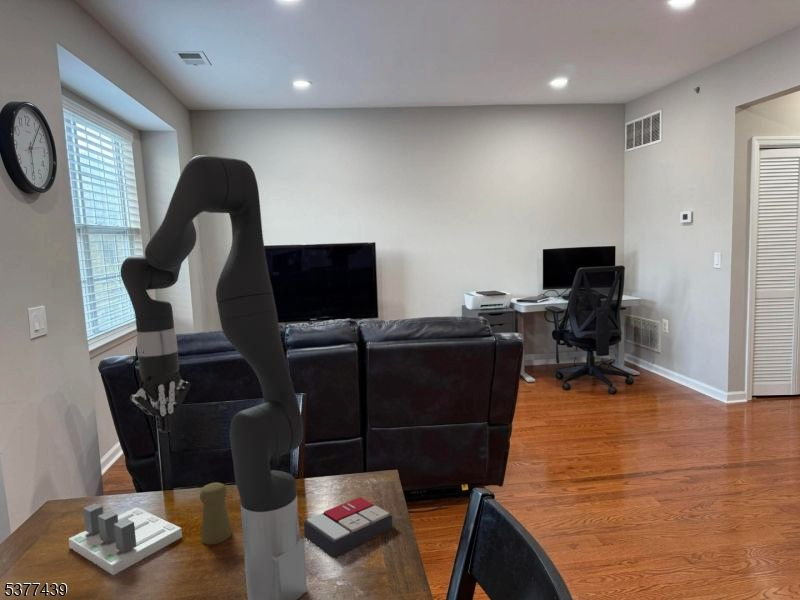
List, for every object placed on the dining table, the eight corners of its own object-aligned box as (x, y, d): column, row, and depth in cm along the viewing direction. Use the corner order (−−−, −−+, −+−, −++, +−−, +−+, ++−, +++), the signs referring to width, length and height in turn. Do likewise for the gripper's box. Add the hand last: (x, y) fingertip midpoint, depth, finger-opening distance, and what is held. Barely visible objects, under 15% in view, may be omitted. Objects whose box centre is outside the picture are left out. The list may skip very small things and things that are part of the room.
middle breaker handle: (119, 537, 100) (117, 514, 99) (107, 543, 98) (105, 519, 97) (112, 533, 101) (110, 510, 101) (100, 539, 99) (97, 516, 99)
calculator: (393, 512, 104) (334, 538, 94) (393, 531, 105) (334, 560, 94) (360, 494, 112) (303, 517, 102) (360, 512, 113) (303, 537, 102)
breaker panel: (182, 537, 104) (181, 527, 103) (113, 575, 92) (112, 564, 92) (137, 515, 113) (136, 506, 113) (69, 547, 101) (68, 538, 101)
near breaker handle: (136, 546, 97) (134, 522, 96) (124, 553, 95) (121, 528, 94) (128, 542, 98) (126, 518, 98) (116, 548, 96) (113, 524, 96)
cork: (221, 545, 100) (217, 493, 99) (194, 543, 101) (190, 491, 100) (237, 528, 106) (233, 479, 105) (211, 526, 107) (207, 477, 106)
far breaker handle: (104, 529, 103) (102, 506, 103) (92, 535, 101) (90, 511, 101) (98, 525, 105) (95, 502, 104) (85, 531, 103) (83, 508, 102)
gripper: (137, 358, 96) (146, 445, 98) (196, 346, 108) (203, 424, 109) (116, 356, 100) (124, 439, 102) (175, 344, 112) (182, 419, 113)
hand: (165, 431), depth 106 cm, fingers closed
